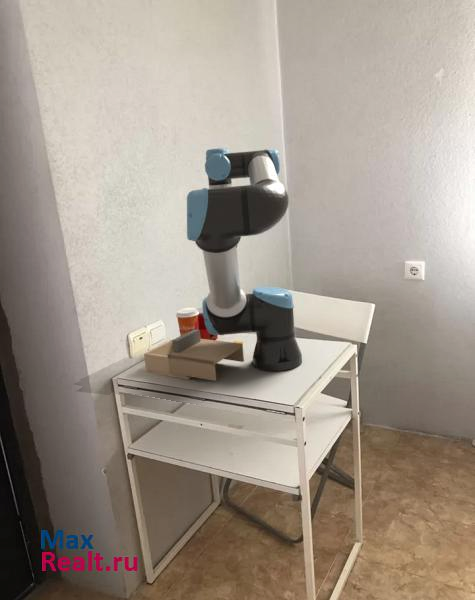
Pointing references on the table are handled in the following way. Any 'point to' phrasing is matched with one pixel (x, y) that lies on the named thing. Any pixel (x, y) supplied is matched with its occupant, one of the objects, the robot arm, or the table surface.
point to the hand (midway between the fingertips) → (227, 269)
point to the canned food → (204, 327)
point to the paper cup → (187, 320)
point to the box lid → (201, 355)
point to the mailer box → (160, 360)
